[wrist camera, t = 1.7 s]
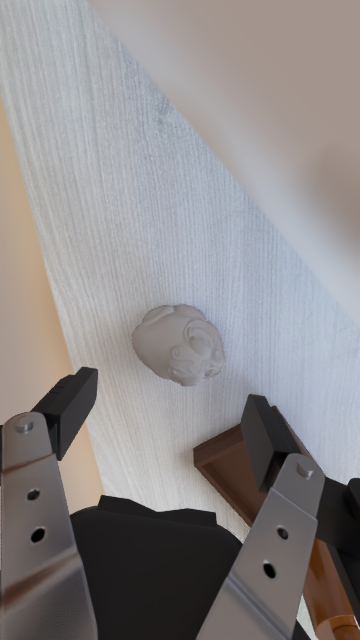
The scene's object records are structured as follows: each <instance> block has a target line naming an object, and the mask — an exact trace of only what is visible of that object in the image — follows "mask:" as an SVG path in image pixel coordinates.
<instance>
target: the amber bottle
mask: <svg viewBox="0 0 360 640" xmlns="http://www.w3.org/2000/svg"><path fill="white" fill-rule="evenodd" d="M302 594H303V597H304V600H305V604H306V607H307V610H308V613H309V616H310V619H311V622H312V626H313V629H314V632H315V635H316V637H317V638H318V639H319V640H360V627H359V625H358V623H357V620H356V618H355V615H354V613H353V610H352V608H351V605H350V603H349V600H348V598H347V595H346V593H345V590H344V588H343V585H342V583H341V581H340V578H339V576H338V573H337V571H336V568H335V566H334V563H333V561H332V558H331V556H330V553H329V551H328V548H327V546H326V543H325V542H323V541H321V540H319V539H317V538H315V539H314V543H313V547H312V552H311V556H310V561H309V565H308V569H307V574H306V578H305V582H304V587H303V591H302Z"/></svg>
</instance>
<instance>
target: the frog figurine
mask: <svg viewBox="0 0 360 640" xmlns="http://www.w3.org/2000/svg"><path fill="white" fill-rule="evenodd" d="M205 320H206V318H205V315H204V314H203V313H202V312H201V311H200V310H198V309H196V308H194V307H192V306H188V305H186V304H180V305H178V306H169V305H164V306H160V307H157V308H155V309H152V310H151V311H149V313H148V314H147V315H146V316H145V317H144V319H143V323H141V324H140V325H139V326H138V327H137V328H136V329H135V330H134V331H133V333H132V335H131V336H132V344H133V348H134V350H135V352H136V355H137V356H138V358H139V359H140V360H141V361H142V362H143V363H144V364H145V365H146V366H147V367H148V368H150V369H151V370H152V371H153V372H154V373H155V374H156V375H157V376H159V377H161V378H164V379H168V380H172V381H174V382H175V383H176V382H177V383H180V384H181V385H182V386H194V385H197V384H198V383H199V382H200V381H201V380H203V379H205V378H209V377H213V376H215V375H217V374H218V373H219V372H220V371H221V370H222V369H223V367H224V364H225V358H226V357H225V351H224V346H223V343H222V340H221V337H220V334H219V331H218V330H217V328H216V327H215V326H214V325H213V324H212V323H211V322H210V321H205Z"/></svg>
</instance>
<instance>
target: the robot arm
mask: <svg viewBox="0 0 360 640" xmlns="http://www.w3.org/2000/svg"><path fill="white" fill-rule="evenodd" d="M97 381H98V370H97V369H94V368H88V367H81V368H80V370H79V371H78V372H77V373H76V374H75V375H68V376H66V377H64V378H62V379H60V380H59V382H57V384H56V385H55V386H54V387H53V388H52V389H51V390H50V391H49V393H47V394H46V395H45V396H44V397H43V399H41V400H40V401H39V403H38V404H37V405H36V406H35V407H34V408H33V409H32V410H31V411H30V412H25V413H21V414H18V415H15V416H14V417H12V418H10V419H9V420H8V421H7V422H6V423H5V424H4V425H0V486H1V570H0V640H311V639H310V638H309V636H308V635H307V633H306V632H305V631H304V629H303V628H302V626H301V625H300V623H299V622H298V621H297V619H296V617H297V613H298V608H299V604H300V600H301V595H302V591H303V587H304V582H305V578H306V574H307V569H308V565H309V561H310V556H311V552H312V547H313V543H314V539H315V538H317V539H319V540H321V541H323V542H325V543H326V546H327V548H328V551H329V553H330V556H331V558H332V561H333V563H334V566H335V568H336V571H337V573H338V576H339V578H340V581H341V583H342V585H343V588H344V590H345V593H346V595H347V598H348V600H349V603H350V605H351V608H352V610H353V613H354V615H355V618H356V620H357V623H358V625H359V627H360V478H352V479H351V480H350V481H349V483H348V485H347V486H346V485H344V484H342V483H339V482H337V481H335V480H332V479H330V478H328V477H325V476H324V473H323V471H322V470H321V468H320V467H319V466H318V465H317V464H316V463H315V462H314V461H313V460H311V459H310V458H308V457H306V456H304V455H303V454H302V452H301V450H300V448H299V446H298V444H297V443H296V441H295V439H294V437H293V435H292V433H291V432H290V430H289V428H288V426H287V425H286V422H285V420H284V418H283V416H282V415H281V414H280V413H279V412H278V411H277V410H276V409H275V408H272V407H270V406H269V404H268V401H267V399H266V398H265V396H260V395H253V394H249V396H248V398H247V402H246V405H245V408H244V412H243V415H242V419H241V431H242V434H243V438H244V442H245V445H246V449H247V452H248V456H249V460H250V463H251V467H252V471H253V474H254V478H255V482H256V485H257V489H258V492H259V493H263V494H267V497H266V499H265V501H264V503H263V505H262V507H261V509H260V511H259V513H258V515H257V517H256V519H255V521H254V523H253V525H252V527H251V529H250V531H249V533H248V535H247V537H246V539H245V541H244V544H242V543H241V542H240V540H238V539H237V538H236V537H235V536H234V535H233V534H232V533H231V532H229V531H228V530H227V529H225V528H223V527H222V526H220V525H218V524H217V521H216V513H215V512H209V511H202V510H196V509H189V508H186V509H179V510H171V511H164V512H156V511H154V510H152V509H150V508H147V507H145V506H143V505H141V504H139V503H137V502H134V501H132V500H130V499H125V498H118V497H112V496H105V495H101V498H100V501H99V503H98V506H92V507H88V508H84V509H82V510H79V511H77V512H75V513H73V514H71V515H69V511H68V506H67V502H66V498H65V493H64V489H63V484H62V480H61V475H60V471H59V466H58V462H57V461H61V460H62V458H63V457H64V455H65V453H66V451H67V450H68V448H69V446H70V445H71V443H72V441H73V440H74V438H75V436H76V435H77V433H78V431H79V430H80V428H81V426H82V424H83V423H84V421H85V419H86V418H87V416H88V414H89V413H90V411H91V409H92V408H93V406H94V403H95V400H96V396H97Z"/></svg>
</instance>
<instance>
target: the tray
mask: <svg viewBox="0 0 360 640" xmlns="http://www.w3.org/2000/svg"><path fill="white" fill-rule="evenodd" d="M272 408H275V409H276V410H277V411H278V412H279V413H280V411H279V410H278V409H277V407H276V406H274V407H272ZM280 414H281V413H280ZM281 415H282V414H281ZM283 418H284V417H283ZM284 420H285V418H284ZM285 422H286V425H287V426H288V428H289V430H290V432H291V433H292V435H293V437H294V439H295V441H296V443H297V444H298V446H299V448H300V450H301V452H302V454H303V455H304V456H306V457H308V458H310V459H311V460H313V461H314V462H315V460H314V459H313V457H312V456H311V455H310V453H309V452H308V450H307V449H306V448H305V446H304V445H303V444H302V442H301V441H300V439H299V438H298V437H297V435H296V434H295V432H294V431H293V430H292V428H291V427H290V425H289V424H288V423H287V421H286V420H285ZM193 452H194V466H195V467H196V468H197V469H198V470H199V471H200V472H201V474H202V475H203V476H204V477H205V478H206V479H207V480H208V481H209V482H210V483H211V485H212V486H213V487H214V488H215V489H216V490H217V491H218V492H219V493H220V494H221V496H222V497H223V498H224V499H225V500H226V501H227V502H228V503H229V504H230V505H231V507H232V508H233V509H234V510H235V511H236V512H237V513H238V514H239V515H240V516H241V517H242V519H243V520H244V521H245V522H246V523H247V524H248V525H249V526H250V527H252V525H253V523H254V521H255V519H256V517H257V515H258V513H259V511H260V509H261V507H262V505H263V503H264V501H265V499H266V497H267V494H263V493H259V492H258V489H257V485H256V482H255V478H254V474H253V471H252V467H251V463H250V460H249V456H248V452H247V449H246V445H245V442H244V438H243V434H242V431H241V424H239V425H237V426H235V427H234V428H232V429H230V430H228V431H226V432H224V433H222V434H220V435H218V436H216V437H214V438H213V439H211V440H209V441H207V442H205V443H203V444H201V445H199V446H197V447H195V448H194V449H193ZM315 463H316V462H315ZM316 464H317V463H316ZM317 465H318V464H317ZM324 476H325V474H324ZM325 477H326V476H325Z"/></svg>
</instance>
